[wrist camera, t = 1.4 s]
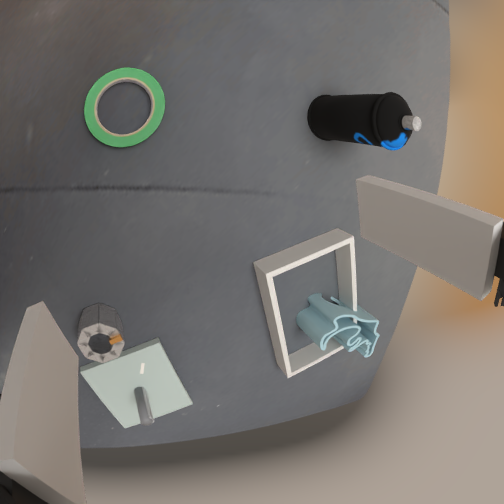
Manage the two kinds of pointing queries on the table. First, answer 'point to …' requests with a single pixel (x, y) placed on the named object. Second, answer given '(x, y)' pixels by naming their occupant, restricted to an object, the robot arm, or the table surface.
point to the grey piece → (100, 333)
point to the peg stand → (138, 384)
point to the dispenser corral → (294, 258)
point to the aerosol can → (363, 119)
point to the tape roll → (112, 79)
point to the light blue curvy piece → (338, 325)
